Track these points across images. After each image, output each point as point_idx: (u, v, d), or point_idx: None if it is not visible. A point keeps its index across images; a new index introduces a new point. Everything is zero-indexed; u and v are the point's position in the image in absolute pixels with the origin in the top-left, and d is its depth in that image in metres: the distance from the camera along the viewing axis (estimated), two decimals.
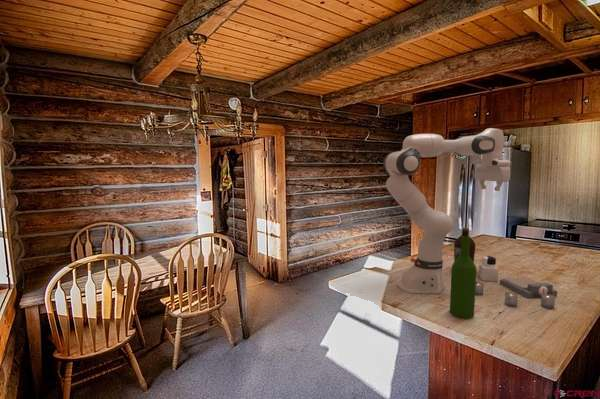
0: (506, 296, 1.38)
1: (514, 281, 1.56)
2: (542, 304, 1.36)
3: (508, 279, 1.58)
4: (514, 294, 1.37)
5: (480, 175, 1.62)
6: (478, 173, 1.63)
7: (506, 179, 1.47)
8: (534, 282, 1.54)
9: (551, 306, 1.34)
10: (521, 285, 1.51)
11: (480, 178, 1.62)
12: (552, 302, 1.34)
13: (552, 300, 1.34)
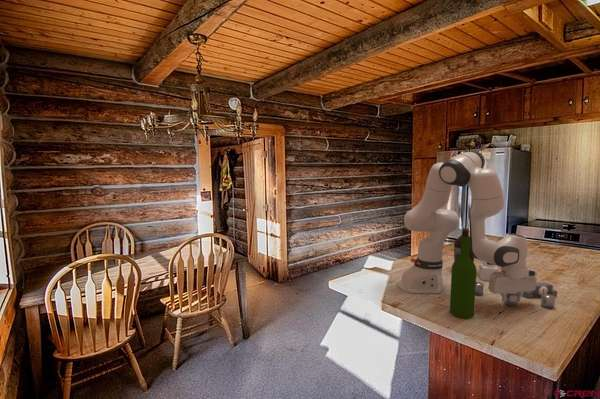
0: (506, 296, 1.38)
1: None
2: (542, 304, 1.36)
3: None
4: (514, 294, 1.37)
5: (504, 288, 1.35)
6: (501, 286, 1.34)
7: None
8: None
9: (551, 306, 1.34)
10: None
11: (504, 291, 1.35)
12: (552, 302, 1.34)
13: (552, 300, 1.34)
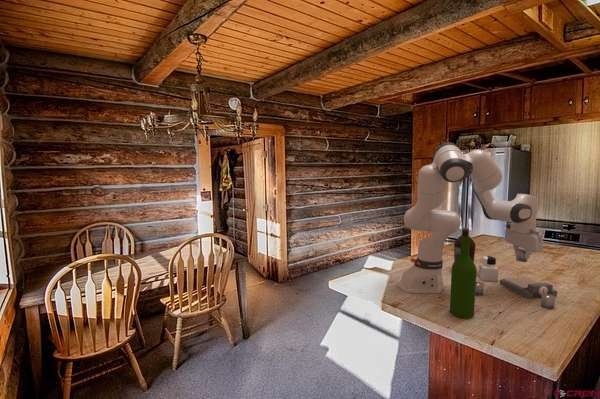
0: (525, 253, 1.48)
1: (514, 281, 1.56)
2: (542, 304, 1.36)
3: (508, 279, 1.58)
4: (522, 249, 1.51)
5: None
6: None
7: None
8: (534, 282, 1.54)
9: (551, 306, 1.34)
10: (521, 285, 1.51)
11: None
12: (552, 302, 1.34)
13: (552, 300, 1.34)
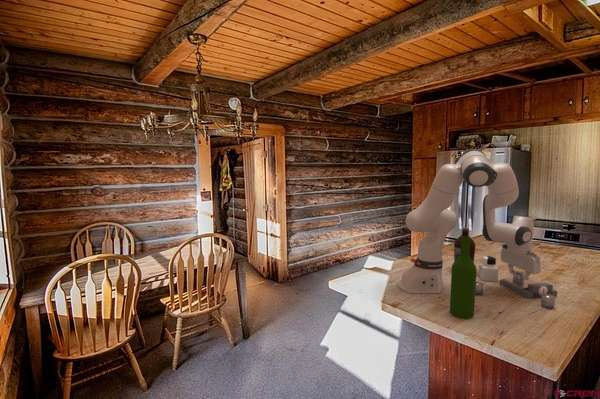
0: (522, 276, 1.52)
1: None
2: (542, 304, 1.36)
3: (508, 279, 1.58)
4: (518, 271, 1.55)
5: None
6: None
7: None
8: (534, 282, 1.54)
9: (551, 306, 1.34)
10: (521, 285, 1.51)
11: None
12: (552, 302, 1.34)
13: (552, 300, 1.34)
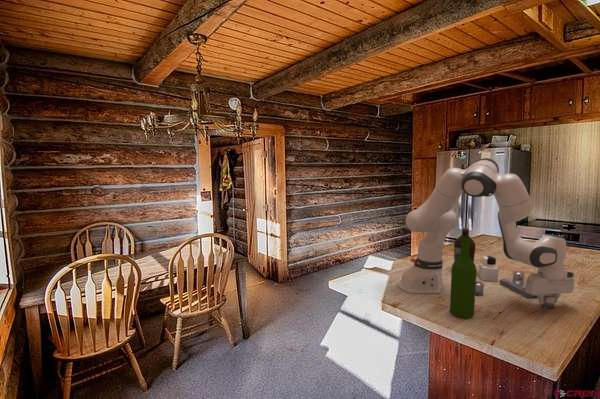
0: (521, 276, 1.52)
1: None
2: (542, 304, 1.36)
3: (508, 279, 1.58)
4: (518, 271, 1.55)
5: (541, 289, 1.33)
6: (539, 287, 1.32)
7: None
8: None
9: (551, 306, 1.34)
10: (521, 285, 1.51)
11: (542, 293, 1.33)
12: (552, 302, 1.34)
13: (552, 300, 1.34)
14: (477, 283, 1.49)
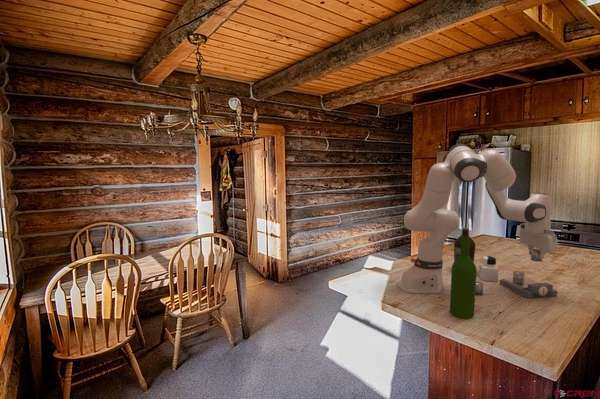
0: (521, 276, 1.52)
1: None
2: (539, 259, 1.48)
3: (508, 279, 1.58)
4: (519, 271, 1.55)
5: None
6: None
7: None
8: (534, 282, 1.54)
9: None
10: (521, 285, 1.51)
11: None
12: None
13: None
14: (476, 282, 1.50)
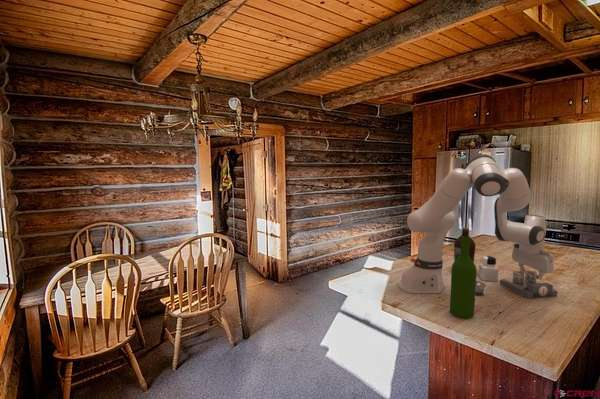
0: (521, 276, 1.52)
1: None
2: (533, 281, 1.53)
3: (508, 279, 1.58)
4: (518, 271, 1.55)
5: None
6: None
7: None
8: None
9: None
10: (521, 285, 1.51)
11: None
12: None
13: None
14: (478, 282, 1.50)
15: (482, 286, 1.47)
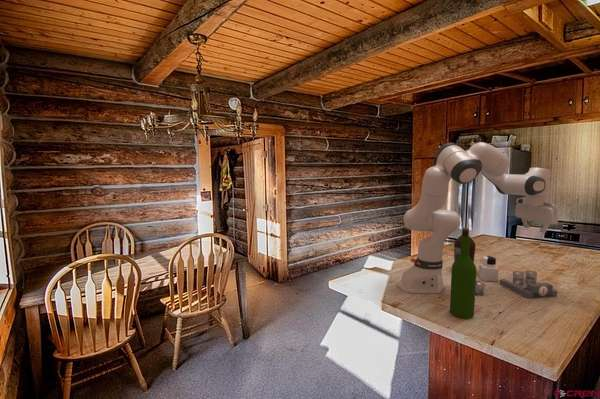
0: (520, 276, 1.52)
1: None
2: (533, 281, 1.53)
3: (508, 279, 1.58)
4: (519, 271, 1.55)
5: None
6: None
7: None
8: None
9: None
10: (521, 285, 1.51)
11: None
12: None
13: None
14: (479, 282, 1.50)
15: (478, 284, 1.48)
